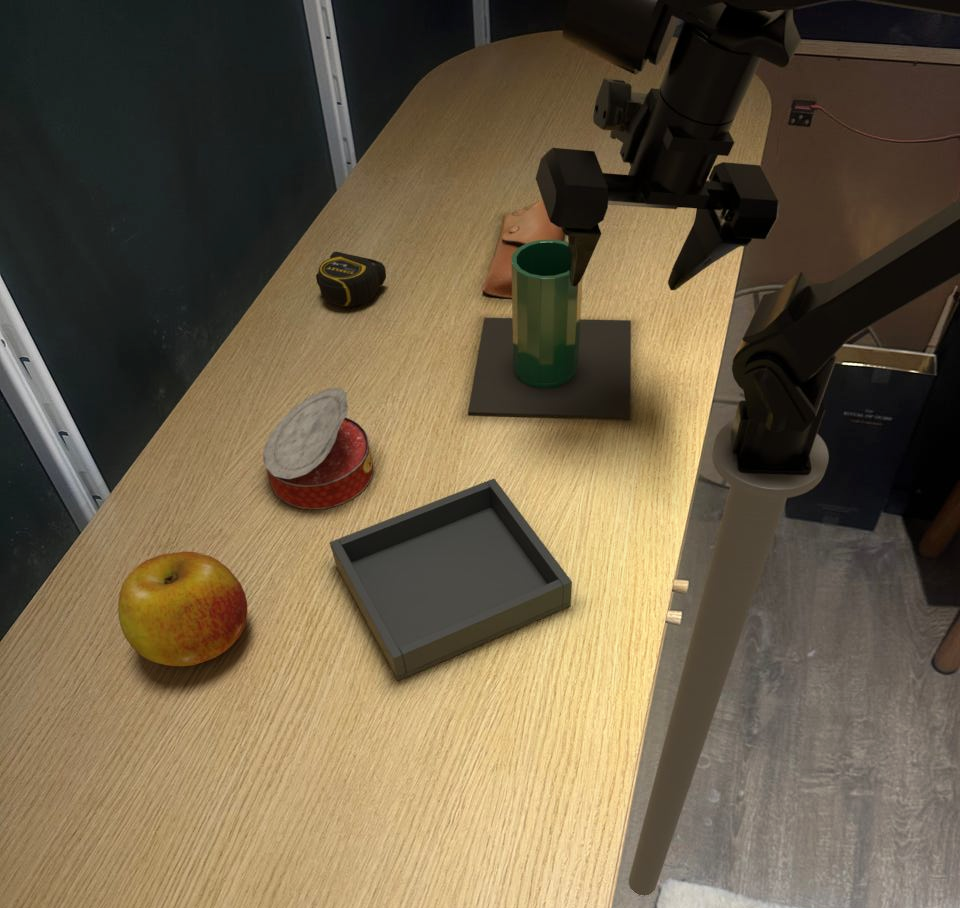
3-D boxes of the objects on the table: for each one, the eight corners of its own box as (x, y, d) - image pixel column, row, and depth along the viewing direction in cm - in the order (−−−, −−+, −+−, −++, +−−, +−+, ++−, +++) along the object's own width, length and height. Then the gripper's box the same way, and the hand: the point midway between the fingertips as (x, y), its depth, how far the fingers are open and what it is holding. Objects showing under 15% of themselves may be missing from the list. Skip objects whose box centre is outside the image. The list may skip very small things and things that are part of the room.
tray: (495, 503, 78) (494, 477, 75) (571, 605, 70) (572, 581, 68) (336, 566, 74) (329, 541, 72) (398, 681, 67) (392, 658, 64)
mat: (630, 323, 93) (630, 320, 92) (630, 420, 83) (630, 416, 83) (484, 320, 94) (484, 317, 94) (468, 415, 85) (467, 411, 85)
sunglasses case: (500, 212, 107) (527, 165, 102) (548, 241, 109) (576, 197, 104) (479, 294, 96) (508, 247, 91) (532, 325, 99) (563, 280, 94)
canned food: (349, 540, 82) (306, 510, 72) (268, 495, 85) (216, 460, 75) (408, 439, 82) (373, 395, 73) (325, 397, 85) (281, 349, 75)
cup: (588, 378, 87) (595, 267, 77) (528, 395, 86) (528, 285, 76) (561, 342, 91) (564, 232, 81) (503, 359, 89) (500, 249, 80)
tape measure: (391, 287, 99) (386, 256, 96) (361, 318, 96) (355, 288, 93) (341, 274, 101) (335, 244, 98) (310, 305, 98) (303, 275, 95)
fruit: (246, 582, 73) (218, 517, 67) (267, 662, 68) (240, 600, 62) (134, 616, 72) (95, 552, 65) (147, 700, 67) (106, 640, 60)
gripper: (775, 49, 66) (692, 228, 79) (548, 21, 61) (500, 217, 75) (827, 138, 61) (729, 313, 74) (585, 115, 56) (527, 306, 70)
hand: (622, 284), depth 73 cm, fingers open, 9 cm apart
